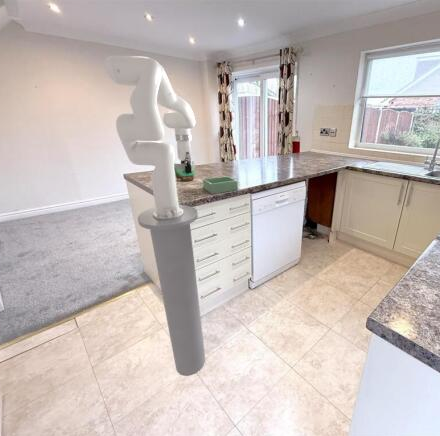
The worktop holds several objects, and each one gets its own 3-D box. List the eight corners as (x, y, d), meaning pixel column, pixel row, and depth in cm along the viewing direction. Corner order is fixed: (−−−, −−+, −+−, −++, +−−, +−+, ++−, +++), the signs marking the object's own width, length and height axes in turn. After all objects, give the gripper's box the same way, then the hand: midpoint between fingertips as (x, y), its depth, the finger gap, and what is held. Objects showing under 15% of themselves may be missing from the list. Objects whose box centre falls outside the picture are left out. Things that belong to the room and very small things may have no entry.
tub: (237, 189, 148) (237, 180, 146) (211, 194, 140) (210, 184, 137) (228, 184, 158) (228, 176, 156) (203, 188, 149) (202, 179, 147)
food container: (179, 183, 131) (177, 164, 128) (174, 181, 135) (172, 163, 132) (200, 180, 140) (198, 162, 136) (194, 178, 144) (193, 161, 140)
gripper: (171, 137, 134) (175, 169, 140) (180, 139, 121) (184, 175, 127) (185, 136, 138) (188, 168, 144) (195, 139, 125) (198, 174, 131)
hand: (186, 171), depth 136 cm, fingers closed on food container, 6 cm apart
